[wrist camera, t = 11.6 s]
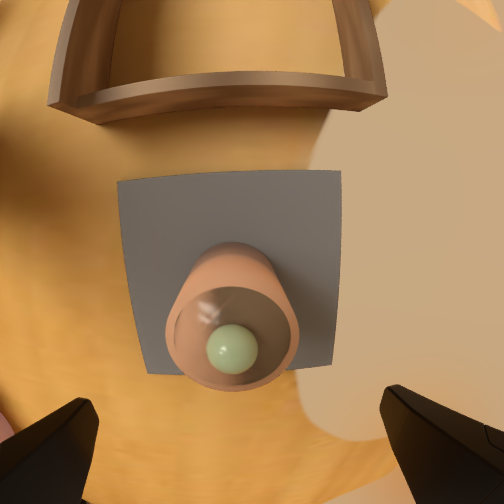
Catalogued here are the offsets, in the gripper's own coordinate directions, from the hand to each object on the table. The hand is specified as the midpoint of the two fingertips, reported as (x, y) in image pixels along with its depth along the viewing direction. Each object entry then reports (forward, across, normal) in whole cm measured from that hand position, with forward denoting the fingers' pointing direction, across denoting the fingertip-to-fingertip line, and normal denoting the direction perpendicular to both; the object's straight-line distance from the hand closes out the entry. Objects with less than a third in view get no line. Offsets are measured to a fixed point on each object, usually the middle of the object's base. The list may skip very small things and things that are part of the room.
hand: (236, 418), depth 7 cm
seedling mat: (+12, 0, 0) cm, 12 cm away
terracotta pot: (+11, 0, 0) cm, 11 cm away
